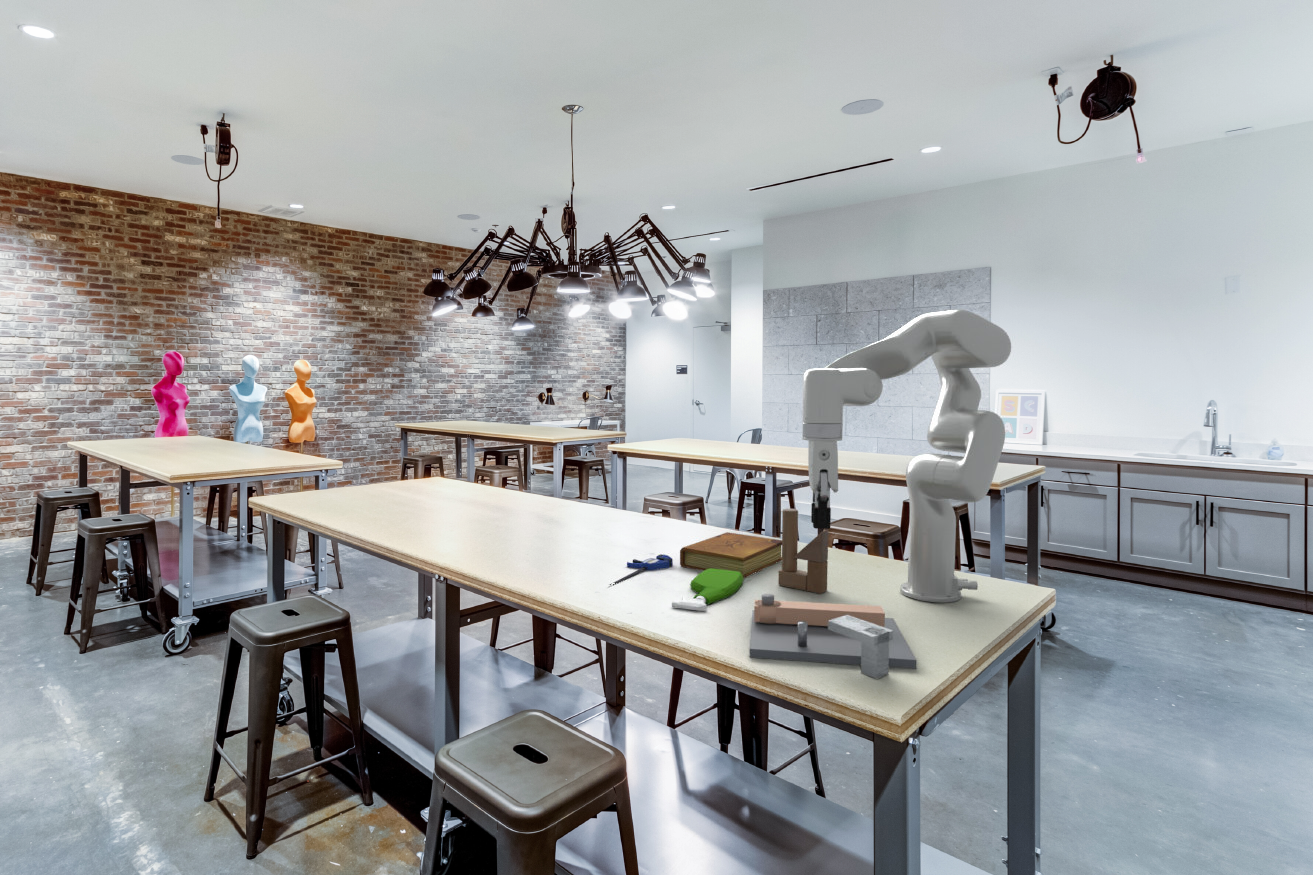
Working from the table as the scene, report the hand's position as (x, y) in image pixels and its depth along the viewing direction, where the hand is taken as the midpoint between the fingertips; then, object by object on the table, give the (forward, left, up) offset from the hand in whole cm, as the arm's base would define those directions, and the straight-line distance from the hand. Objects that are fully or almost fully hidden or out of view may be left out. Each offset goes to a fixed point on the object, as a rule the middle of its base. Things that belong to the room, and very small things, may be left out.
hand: (820, 524), depth 126 cm
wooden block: (+2, -22, -20) cm, 29 cm away
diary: (+19, -42, -20) cm, 50 cm away
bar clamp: (+44, -25, -20) cm, 54 cm away
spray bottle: (+23, -14, -20) cm, 34 cm away
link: (+1, +6, -17) cm, 18 cm away
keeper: (-2, +20, -19) cm, 28 cm away
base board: (0, +10, -19) cm, 22 cm away
